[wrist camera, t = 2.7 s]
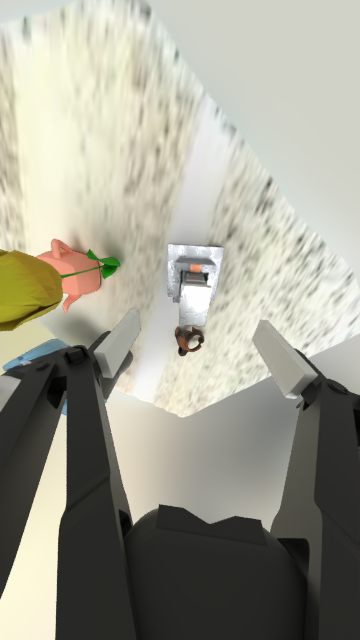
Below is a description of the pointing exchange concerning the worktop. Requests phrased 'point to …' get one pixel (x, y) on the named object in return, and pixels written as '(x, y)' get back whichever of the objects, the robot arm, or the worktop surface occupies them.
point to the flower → (33, 286)
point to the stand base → (192, 266)
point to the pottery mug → (184, 342)
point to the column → (194, 299)
